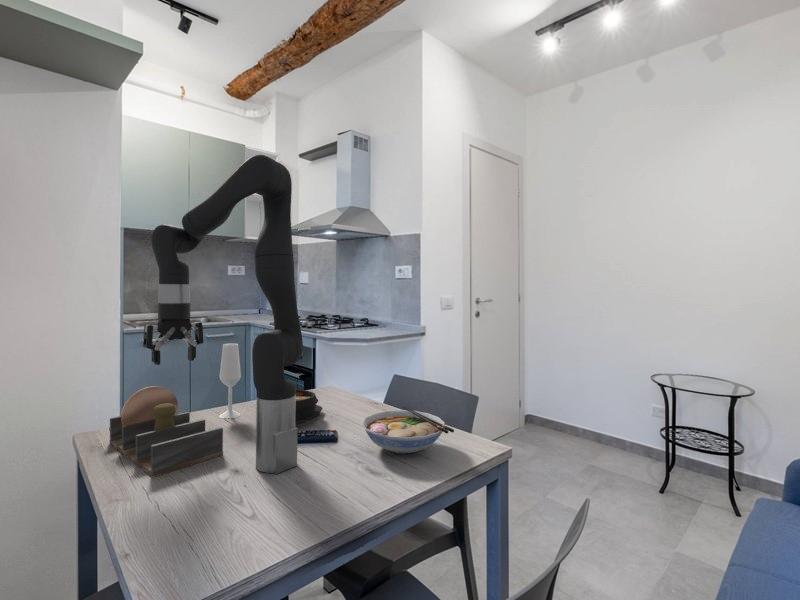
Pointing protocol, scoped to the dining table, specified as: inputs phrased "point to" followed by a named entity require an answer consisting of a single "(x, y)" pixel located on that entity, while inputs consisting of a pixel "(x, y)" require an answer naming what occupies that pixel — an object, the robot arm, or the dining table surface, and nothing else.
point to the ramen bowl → (404, 430)
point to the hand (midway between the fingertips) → (174, 362)
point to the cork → (164, 416)
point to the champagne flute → (230, 374)
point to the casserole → (306, 407)
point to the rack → (162, 435)
